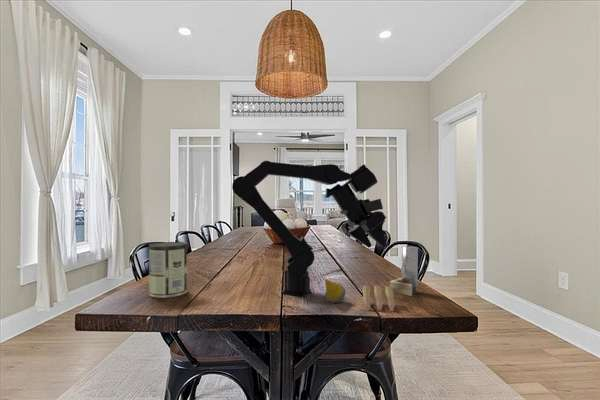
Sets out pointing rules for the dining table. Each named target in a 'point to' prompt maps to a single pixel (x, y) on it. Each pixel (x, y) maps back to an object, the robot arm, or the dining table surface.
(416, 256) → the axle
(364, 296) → the ammunition
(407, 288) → the v block
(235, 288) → the dining table surface
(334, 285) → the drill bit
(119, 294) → the dining table surface
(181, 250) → the coffee can
